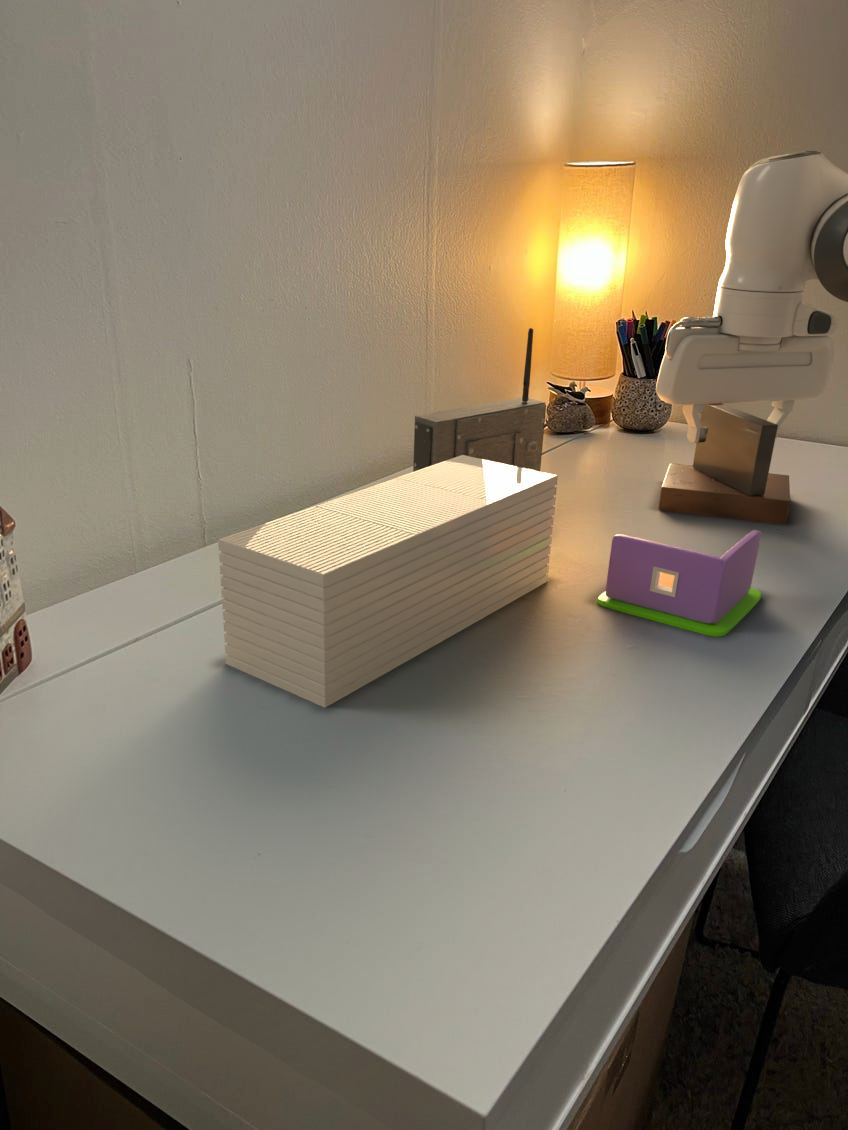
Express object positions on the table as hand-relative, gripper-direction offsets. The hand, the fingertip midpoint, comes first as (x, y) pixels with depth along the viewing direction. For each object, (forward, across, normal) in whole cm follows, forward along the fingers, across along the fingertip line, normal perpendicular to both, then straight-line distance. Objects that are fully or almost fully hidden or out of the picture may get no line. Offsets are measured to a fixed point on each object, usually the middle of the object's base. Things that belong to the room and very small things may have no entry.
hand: (732, 439), depth 112 cm
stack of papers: (+8, -46, -23) cm, 53 cm away
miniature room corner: (+8, -20, -25) cm, 33 cm away
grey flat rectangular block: (+5, 0, 0) cm, 5 cm away
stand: (+8, 0, 0) cm, 8 cm away
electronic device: (+8, -28, +5) cm, 30 cm away
